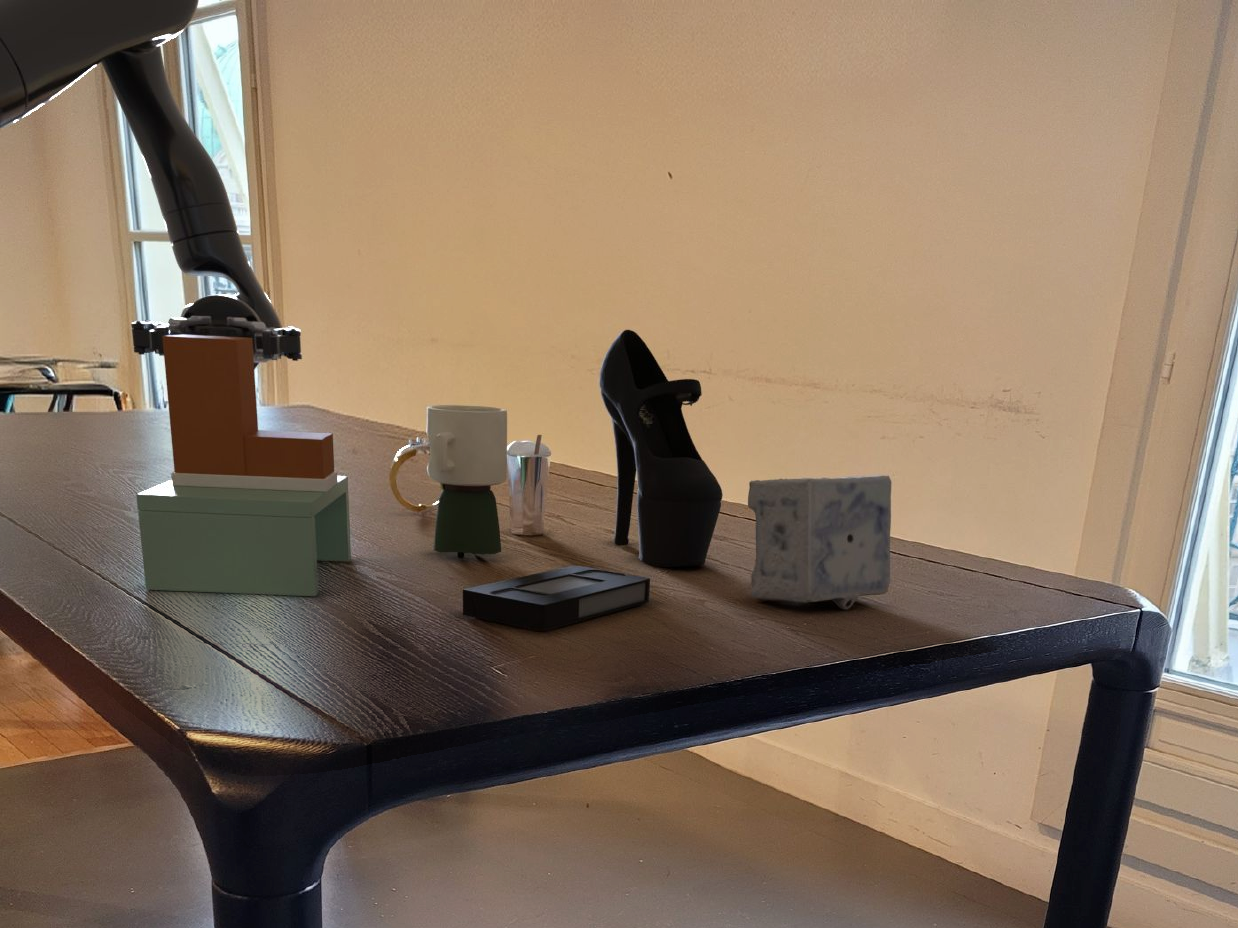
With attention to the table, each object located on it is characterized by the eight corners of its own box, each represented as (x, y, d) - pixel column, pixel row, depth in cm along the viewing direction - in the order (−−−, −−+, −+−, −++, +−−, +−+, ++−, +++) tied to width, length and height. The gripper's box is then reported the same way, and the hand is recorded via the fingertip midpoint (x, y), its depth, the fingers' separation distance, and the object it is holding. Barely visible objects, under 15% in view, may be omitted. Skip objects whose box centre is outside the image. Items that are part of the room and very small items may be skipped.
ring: (454, 512, 142) (453, 437, 139) (455, 517, 139) (455, 440, 136) (390, 511, 141) (388, 435, 138) (390, 515, 138) (388, 438, 135)
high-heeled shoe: (680, 578, 113) (694, 335, 106) (574, 542, 128) (580, 327, 120) (751, 572, 118) (770, 338, 110) (641, 538, 132) (651, 330, 124)
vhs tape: (650, 603, 103) (651, 578, 102) (542, 632, 92) (543, 605, 91) (574, 589, 107) (575, 565, 106) (462, 616, 96) (462, 589, 95)
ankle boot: (172, 485, 101) (158, 335, 96) (191, 477, 106) (179, 334, 102) (326, 492, 101) (319, 343, 97) (337, 483, 107) (332, 341, 102)
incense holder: (819, 587, 113) (832, 465, 109) (890, 606, 107) (906, 477, 103) (736, 596, 107) (746, 468, 103) (805, 617, 101) (819, 481, 97)
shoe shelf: (145, 589, 99) (135, 494, 96) (203, 553, 113) (196, 469, 111) (315, 596, 99) (311, 501, 97) (351, 559, 114) (347, 476, 111)
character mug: (459, 543, 124) (458, 402, 119) (526, 551, 122) (528, 407, 117) (404, 561, 114) (400, 408, 109) (476, 569, 112) (476, 414, 107)
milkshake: (516, 538, 128) (517, 434, 124) (499, 529, 133) (499, 429, 129) (558, 537, 130) (561, 434, 126) (540, 529, 134) (542, 429, 131)
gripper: (141, 290, 120) (120, 290, 105) (298, 298, 123) (299, 299, 109) (150, 375, 123) (130, 387, 108) (302, 381, 126) (303, 392, 112)
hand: (214, 343), depth 109 cm, fingers open, 8 cm apart
